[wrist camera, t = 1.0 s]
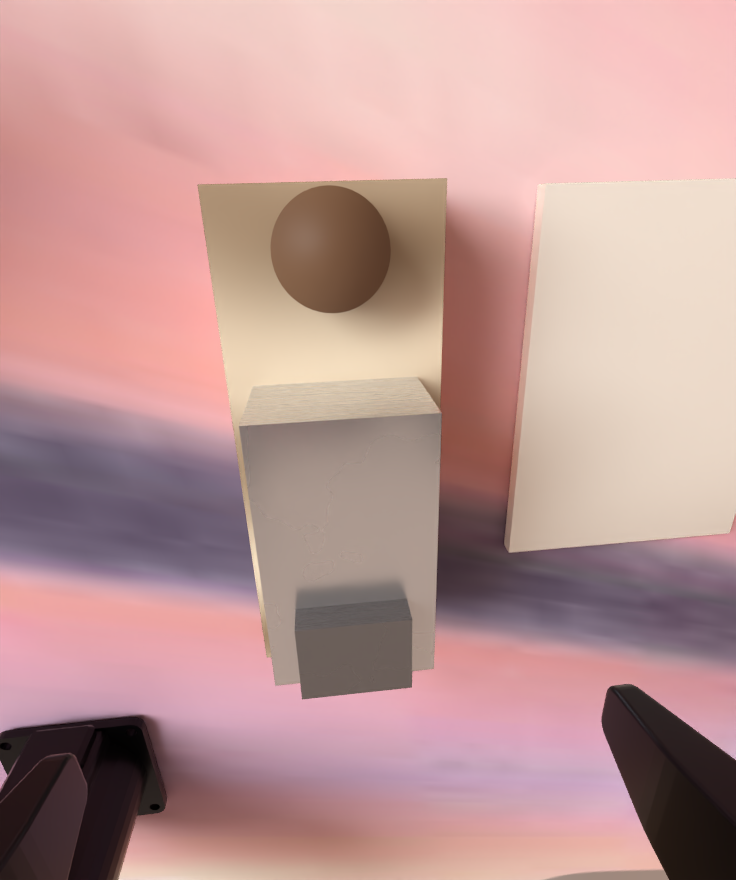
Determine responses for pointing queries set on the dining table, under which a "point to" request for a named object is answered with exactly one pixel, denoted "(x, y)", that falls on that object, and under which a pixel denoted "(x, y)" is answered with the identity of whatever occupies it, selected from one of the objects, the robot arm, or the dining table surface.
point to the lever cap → (345, 529)
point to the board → (627, 366)
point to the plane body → (325, 287)
